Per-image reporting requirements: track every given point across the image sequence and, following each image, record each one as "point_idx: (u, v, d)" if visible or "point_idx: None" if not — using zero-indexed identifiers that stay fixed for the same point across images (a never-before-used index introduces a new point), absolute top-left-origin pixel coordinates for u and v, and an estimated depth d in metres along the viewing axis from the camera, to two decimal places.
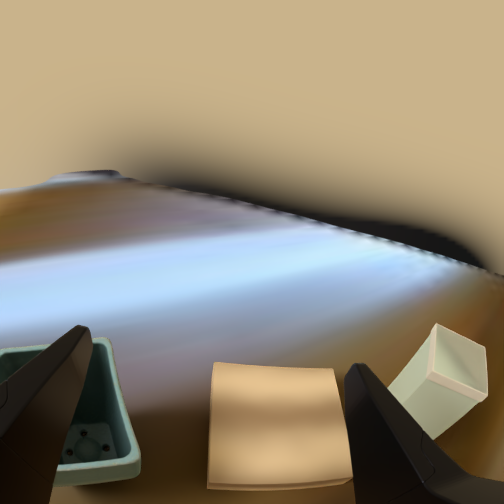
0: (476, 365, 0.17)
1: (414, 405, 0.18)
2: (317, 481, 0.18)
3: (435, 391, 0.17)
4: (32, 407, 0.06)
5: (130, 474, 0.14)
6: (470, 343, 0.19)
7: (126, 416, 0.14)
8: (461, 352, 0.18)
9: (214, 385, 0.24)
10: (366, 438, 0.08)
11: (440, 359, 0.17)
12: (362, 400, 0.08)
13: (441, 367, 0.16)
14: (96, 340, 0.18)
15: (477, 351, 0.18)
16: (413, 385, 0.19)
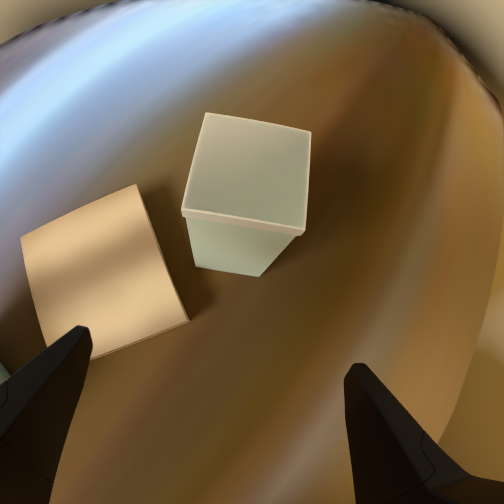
0: (285, 171, 0.14)
1: (205, 237, 0.16)
2: (146, 336, 0.20)
3: (214, 225, 0.14)
4: (32, 408, 0.06)
5: None
6: (277, 130, 0.14)
7: None
8: (251, 153, 0.14)
9: (26, 264, 0.20)
10: (366, 438, 0.08)
11: (201, 181, 0.13)
12: (362, 400, 0.08)
13: (201, 195, 0.13)
14: None
15: (291, 143, 0.14)
16: None
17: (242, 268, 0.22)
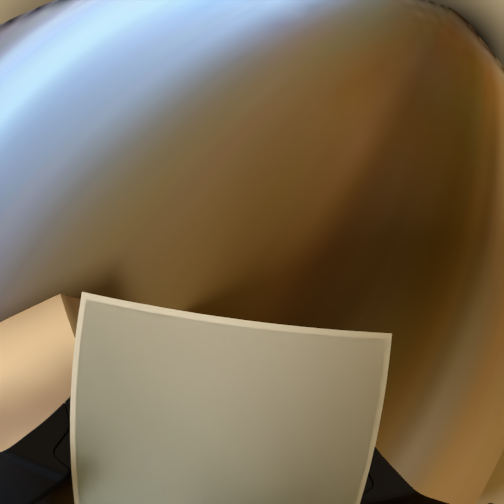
0: (313, 474, 0.04)
1: None
2: None
3: None
4: None
5: None
6: (299, 349, 0.05)
7: None
8: (220, 441, 0.04)
9: None
10: None
11: None
12: None
13: None
14: None
15: (338, 388, 0.05)
16: None
17: None
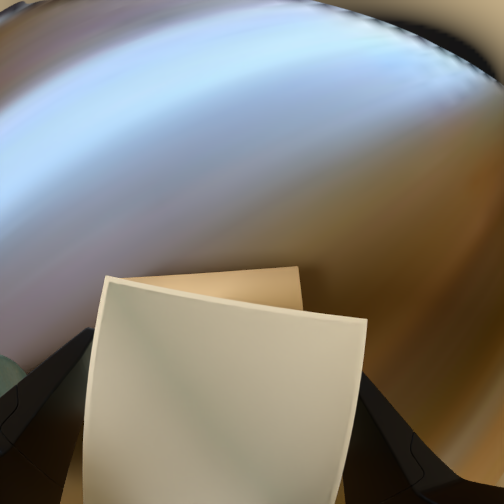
0: (298, 442, 0.05)
1: None
2: None
3: None
4: (43, 412, 0.06)
5: None
6: (286, 329, 0.06)
7: None
8: (216, 406, 0.05)
9: None
10: (355, 439, 0.08)
11: (109, 466, 0.04)
12: None
13: (115, 493, 0.04)
14: None
15: (319, 364, 0.06)
16: None
17: None
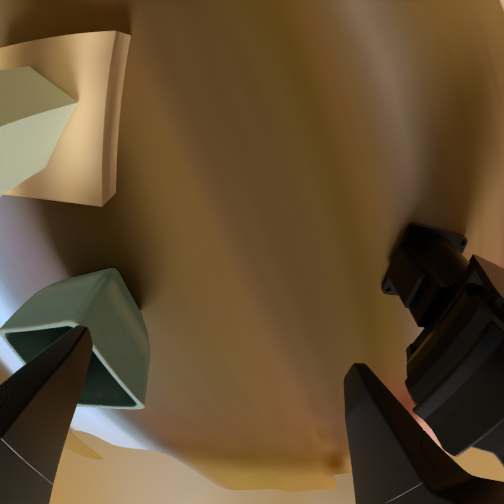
0: None
1: None
2: (109, 81, 0.14)
3: None
4: (32, 407, 0.06)
5: (101, 299, 0.18)
6: None
7: (45, 325, 0.15)
8: None
9: (7, 193, 0.17)
10: (366, 438, 0.08)
11: None
12: (362, 400, 0.08)
13: None
14: (5, 339, 0.16)
15: None
16: None
17: (46, 131, 0.13)
